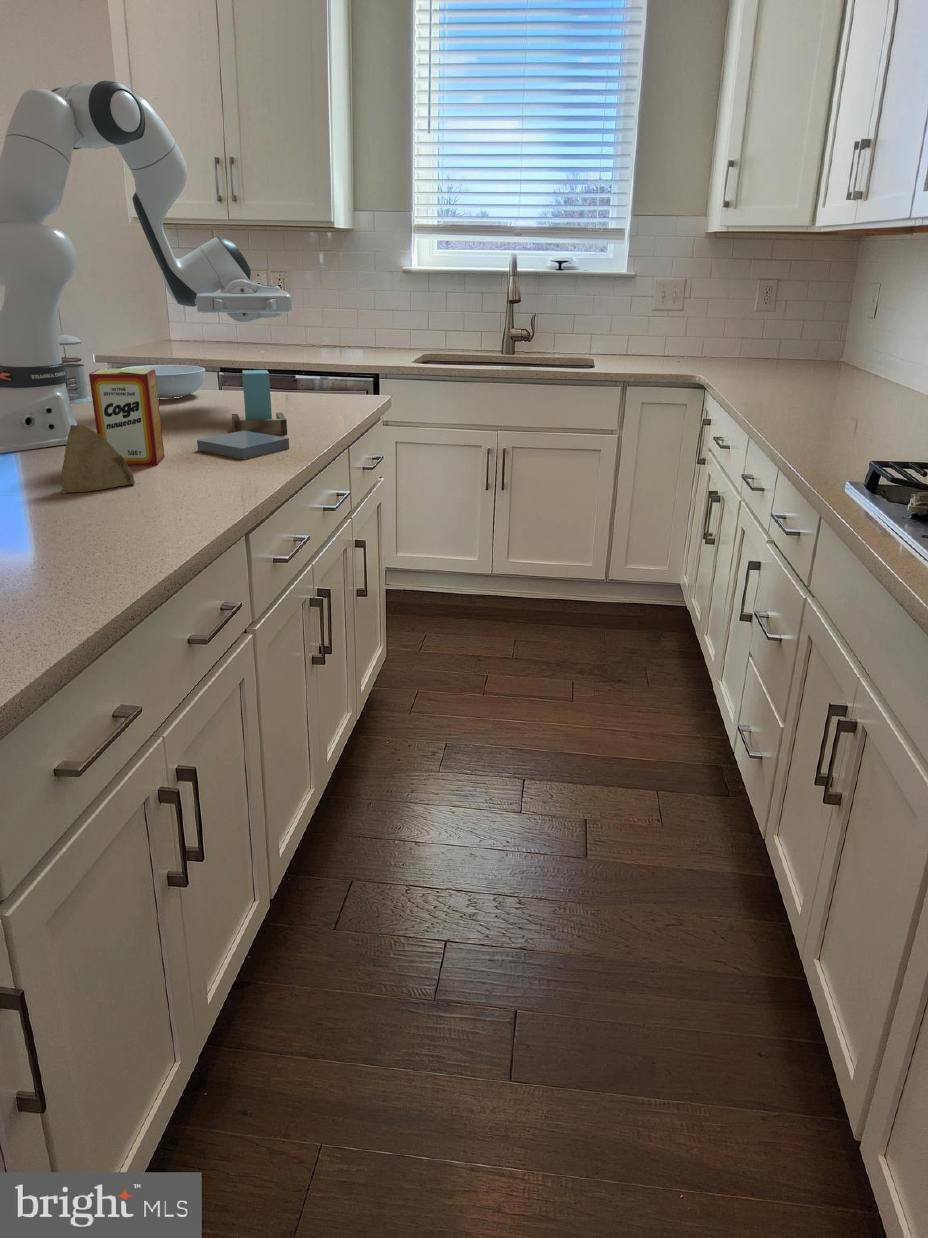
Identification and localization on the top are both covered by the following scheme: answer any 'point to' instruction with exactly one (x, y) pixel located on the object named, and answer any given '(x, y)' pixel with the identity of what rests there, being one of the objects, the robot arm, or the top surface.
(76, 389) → the french press
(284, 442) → the slate tile
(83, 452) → the rock
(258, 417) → the teal block
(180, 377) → the serving bowl
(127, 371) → the baking soda box
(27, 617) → the top surface
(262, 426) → the walnut cubby
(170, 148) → the robot arm
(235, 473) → the top surface
